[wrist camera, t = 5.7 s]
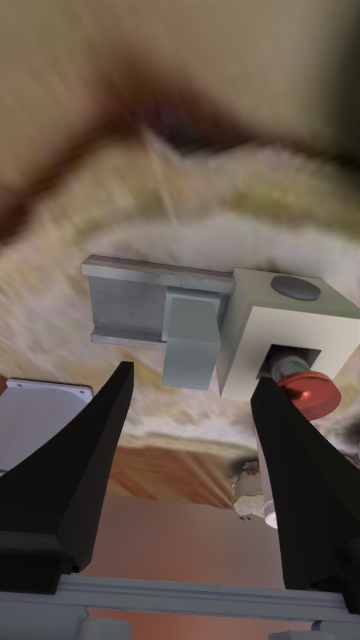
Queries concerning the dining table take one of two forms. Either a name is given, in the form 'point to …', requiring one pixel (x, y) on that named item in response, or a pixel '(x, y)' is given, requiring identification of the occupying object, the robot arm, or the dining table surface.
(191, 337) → the carriage
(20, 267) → the dining table surface
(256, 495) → the chinaware
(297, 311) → the end cabinet
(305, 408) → the red push button
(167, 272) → the rail
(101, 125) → the dining table surface
